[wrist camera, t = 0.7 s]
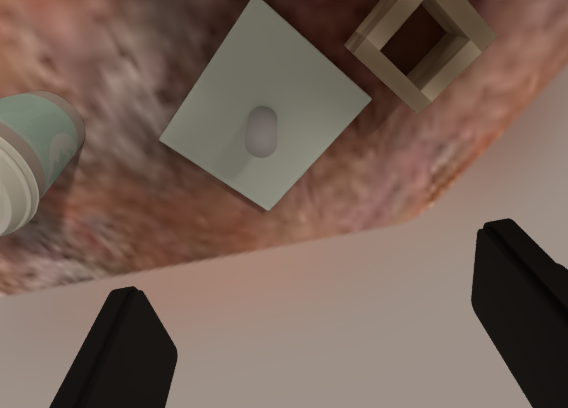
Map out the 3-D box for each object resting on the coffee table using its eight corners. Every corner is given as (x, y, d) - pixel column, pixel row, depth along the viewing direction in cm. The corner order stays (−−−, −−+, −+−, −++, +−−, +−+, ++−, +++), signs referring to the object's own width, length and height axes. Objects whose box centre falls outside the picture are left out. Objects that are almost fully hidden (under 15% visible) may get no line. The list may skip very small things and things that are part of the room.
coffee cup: (51, 182, 34) (-43, 268, 24) (-27, 103, 30) (-181, 166, 20) (122, 143, 32) (52, 218, 22) (49, 53, 28) (-79, 93, 18)
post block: (255, -7, 26) (250, -4, 21) (369, 95, 30) (388, 119, 25) (161, 135, 32) (140, 165, 27) (268, 205, 36) (267, 243, 31)
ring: (411, -39, 25) (432, -42, 22) (470, 29, 28) (497, 36, 25) (343, 45, 28) (352, 53, 25) (402, 100, 31) (418, 115, 27)
